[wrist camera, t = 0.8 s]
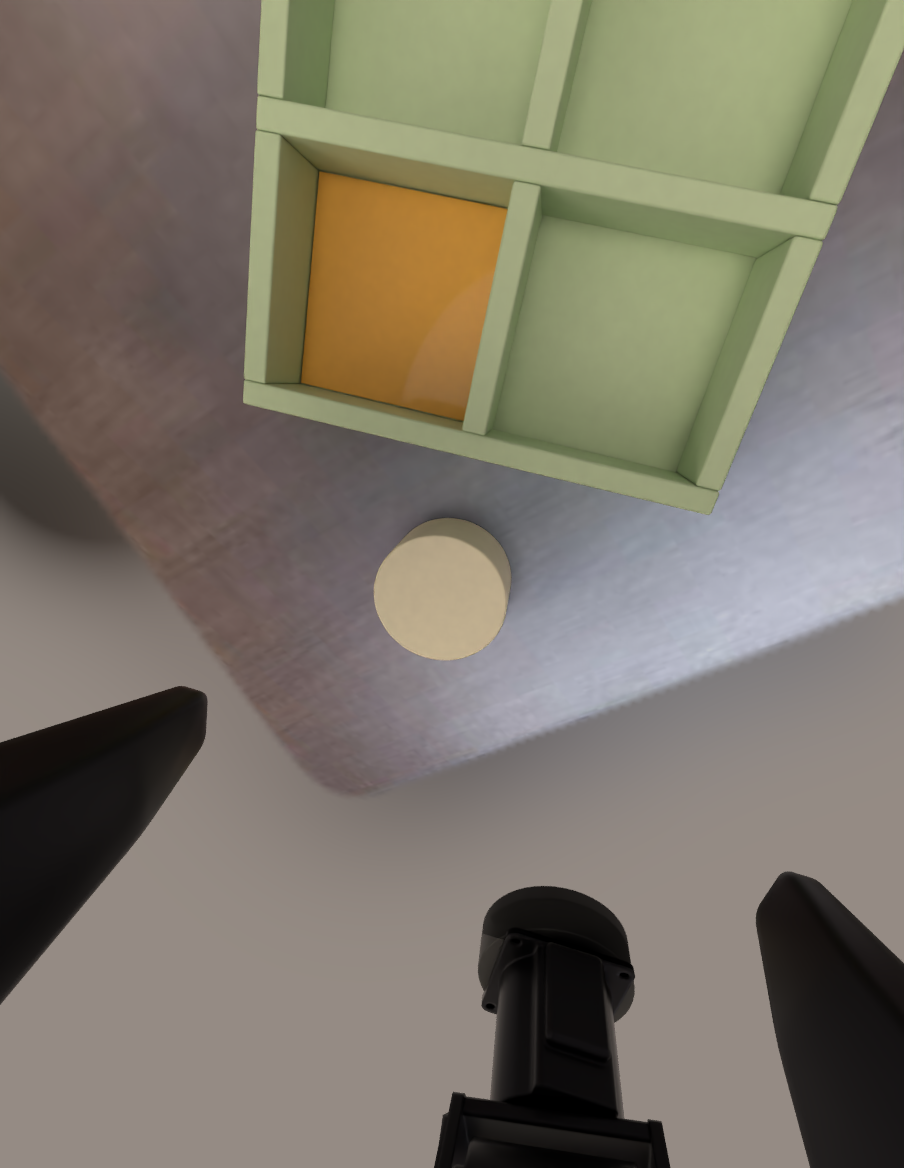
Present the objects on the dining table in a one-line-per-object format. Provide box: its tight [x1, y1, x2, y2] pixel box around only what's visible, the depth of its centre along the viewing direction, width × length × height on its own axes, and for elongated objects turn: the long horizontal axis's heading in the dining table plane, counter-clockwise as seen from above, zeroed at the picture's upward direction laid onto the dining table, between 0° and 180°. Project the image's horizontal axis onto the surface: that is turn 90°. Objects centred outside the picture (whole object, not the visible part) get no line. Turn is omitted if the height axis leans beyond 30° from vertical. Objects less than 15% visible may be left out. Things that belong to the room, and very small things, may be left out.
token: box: [374, 518, 511, 660], centre depth 19 cm, size 5×5×2 cm
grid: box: [243, 0, 904, 515], centre depth 14 cm, size 14×14×3 cm
